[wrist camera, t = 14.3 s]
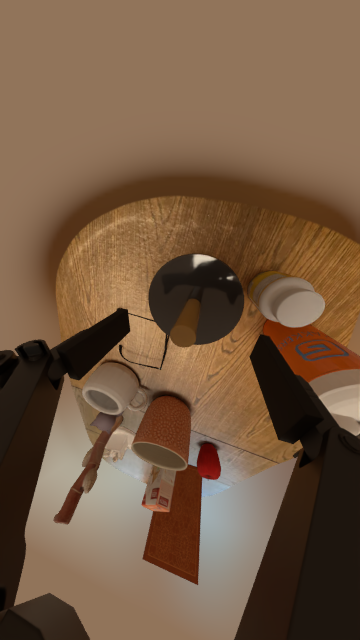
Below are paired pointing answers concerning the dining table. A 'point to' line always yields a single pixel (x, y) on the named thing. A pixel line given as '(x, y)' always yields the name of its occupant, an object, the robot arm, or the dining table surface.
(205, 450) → the apple
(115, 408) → the mug
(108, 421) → the cat figurine
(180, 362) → the dining table surface
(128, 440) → the dish
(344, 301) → the dining table surface
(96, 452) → the vase
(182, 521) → the book
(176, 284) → the lid
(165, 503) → the cracker box
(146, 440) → the planter
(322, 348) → the shaker bottle
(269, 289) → the pill bottle
